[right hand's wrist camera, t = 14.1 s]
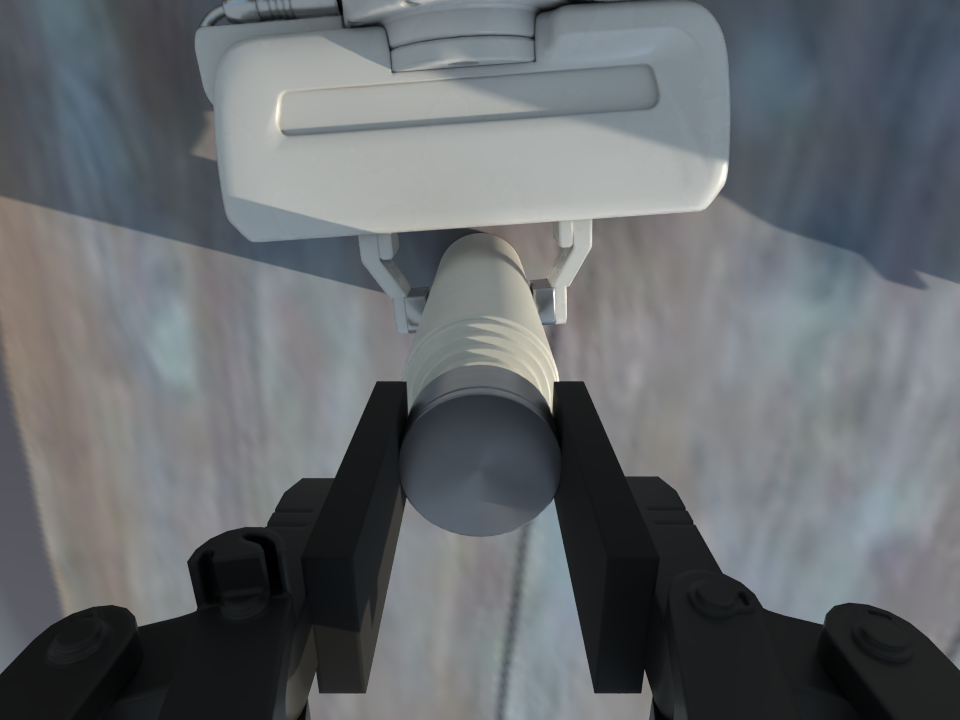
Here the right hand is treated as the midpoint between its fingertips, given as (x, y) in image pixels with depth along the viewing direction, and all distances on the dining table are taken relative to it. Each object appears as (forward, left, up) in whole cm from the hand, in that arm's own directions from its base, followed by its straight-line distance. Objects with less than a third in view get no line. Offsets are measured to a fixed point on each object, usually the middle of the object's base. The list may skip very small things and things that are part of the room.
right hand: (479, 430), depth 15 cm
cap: (0, 0, +2) cm, 2 cm away
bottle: (0, 0, -19) cm, 19 cm away
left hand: (0, -1, -12) cm, 12 cm away
